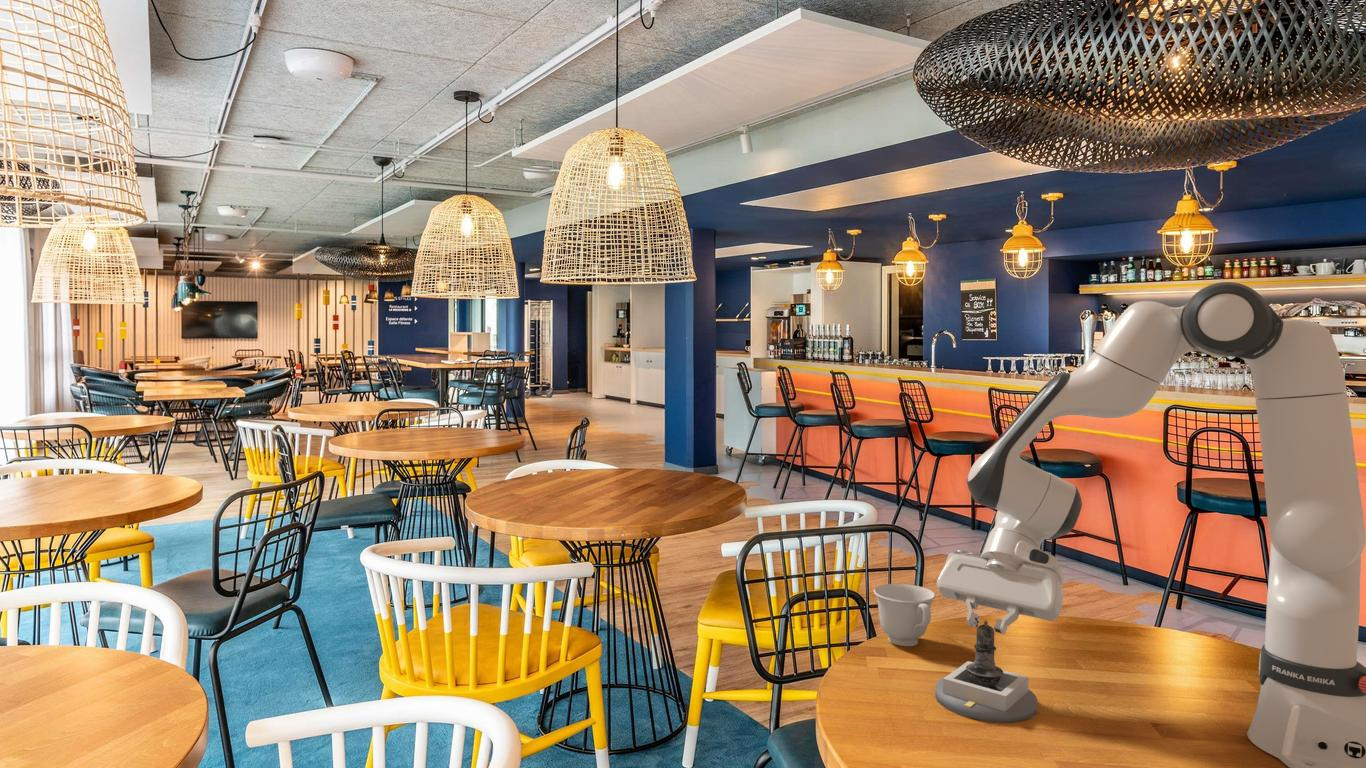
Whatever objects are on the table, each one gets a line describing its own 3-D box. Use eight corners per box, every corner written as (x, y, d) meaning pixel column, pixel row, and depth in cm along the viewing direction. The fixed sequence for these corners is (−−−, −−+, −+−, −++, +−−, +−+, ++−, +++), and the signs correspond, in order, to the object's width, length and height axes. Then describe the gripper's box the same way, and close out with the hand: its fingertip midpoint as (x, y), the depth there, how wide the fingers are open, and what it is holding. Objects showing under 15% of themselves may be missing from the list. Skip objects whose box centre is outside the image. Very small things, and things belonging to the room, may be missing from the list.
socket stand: (1050, 699, 143) (1051, 676, 143) (1016, 732, 131) (1017, 707, 131) (958, 674, 154) (959, 652, 154) (919, 702, 142) (919, 678, 142)
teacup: (898, 660, 160) (900, 608, 160) (861, 633, 175) (862, 585, 174) (955, 654, 163) (956, 603, 163) (914, 628, 178) (915, 581, 177)
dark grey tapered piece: (997, 684, 146) (999, 615, 145) (1006, 698, 140) (1008, 626, 139) (962, 682, 147) (963, 613, 146) (969, 696, 141) (971, 625, 140)
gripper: (946, 538, 153) (920, 604, 146) (1066, 559, 140) (1043, 633, 133) (956, 558, 157) (931, 623, 150) (1073, 580, 144) (1051, 653, 137)
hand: (985, 628), depth 142 cm, fingers open, 3 cm apart
